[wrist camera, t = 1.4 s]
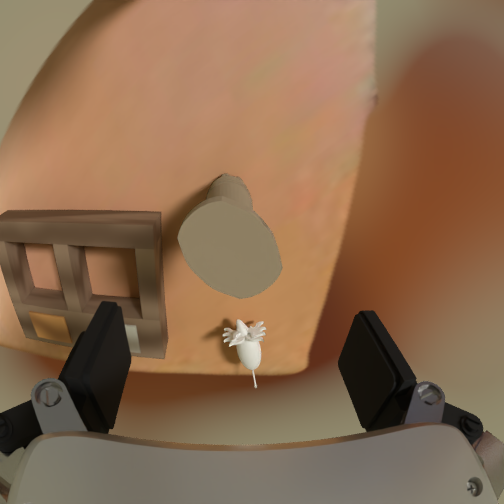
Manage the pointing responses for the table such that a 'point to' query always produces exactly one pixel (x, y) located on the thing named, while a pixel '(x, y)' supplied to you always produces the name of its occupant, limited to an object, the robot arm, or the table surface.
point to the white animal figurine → (246, 343)
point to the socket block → (85, 274)
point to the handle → (230, 241)
